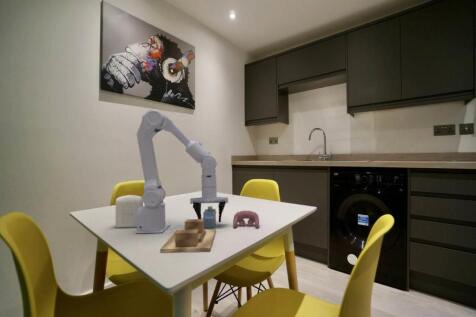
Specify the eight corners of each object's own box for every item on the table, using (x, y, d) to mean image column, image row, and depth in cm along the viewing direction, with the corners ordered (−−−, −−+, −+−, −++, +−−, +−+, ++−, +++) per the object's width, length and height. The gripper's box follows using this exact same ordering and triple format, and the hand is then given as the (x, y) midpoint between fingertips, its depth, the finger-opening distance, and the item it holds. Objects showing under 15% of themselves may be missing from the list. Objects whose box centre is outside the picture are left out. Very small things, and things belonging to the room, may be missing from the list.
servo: (202, 230, 79) (202, 210, 79) (206, 222, 89) (206, 205, 89) (213, 230, 79) (213, 210, 79) (216, 222, 89) (216, 204, 89)
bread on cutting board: (160, 252, 61) (159, 234, 61) (176, 232, 77) (176, 218, 77) (210, 251, 61) (209, 233, 61) (215, 232, 77) (215, 217, 77)
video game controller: (259, 230, 82) (258, 211, 86) (259, 228, 78) (258, 208, 82) (233, 229, 83) (234, 211, 87) (232, 227, 79) (232, 208, 82)
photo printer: (145, 224, 88) (144, 193, 88) (141, 227, 84) (140, 195, 84) (119, 225, 87) (118, 194, 87) (113, 228, 83) (113, 196, 83)
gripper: (188, 188, 80) (188, 225, 80) (227, 187, 80) (228, 224, 80) (192, 186, 87) (192, 219, 87) (228, 185, 87) (228, 219, 87)
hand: (209, 221), depth 84 cm, fingers open, 7 cm apart
